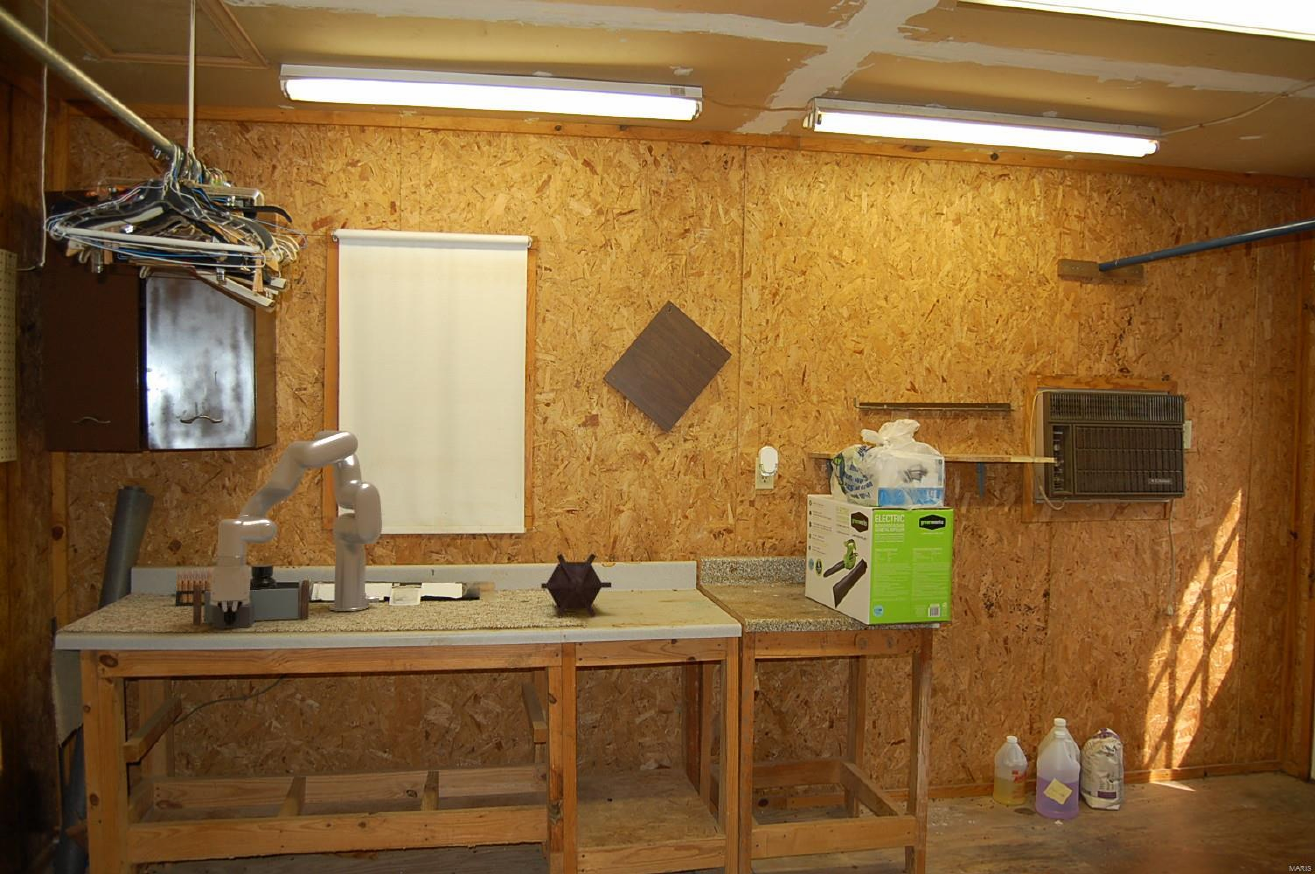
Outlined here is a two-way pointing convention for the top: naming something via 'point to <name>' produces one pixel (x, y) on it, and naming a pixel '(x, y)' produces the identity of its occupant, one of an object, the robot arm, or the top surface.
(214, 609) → the doorstop block
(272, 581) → the ink bottle
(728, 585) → the top surface
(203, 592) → the ammunition clip
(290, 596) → the door
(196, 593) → the door frame
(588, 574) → the black spiked polyhedron
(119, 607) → the top surface
